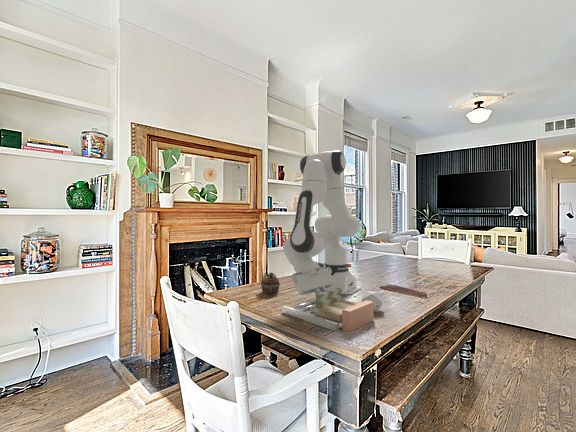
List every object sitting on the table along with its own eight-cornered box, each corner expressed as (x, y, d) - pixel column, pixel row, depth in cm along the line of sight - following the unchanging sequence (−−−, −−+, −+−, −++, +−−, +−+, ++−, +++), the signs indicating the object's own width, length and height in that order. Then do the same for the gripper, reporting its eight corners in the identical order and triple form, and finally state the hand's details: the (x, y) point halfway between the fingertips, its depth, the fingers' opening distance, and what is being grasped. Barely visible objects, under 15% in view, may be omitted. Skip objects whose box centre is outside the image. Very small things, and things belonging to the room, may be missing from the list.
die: (373, 317, 125) (387, 297, 126) (355, 303, 129) (369, 284, 130) (375, 318, 132) (388, 299, 133) (357, 305, 136) (370, 286, 137)
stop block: (366, 318, 122) (366, 300, 122) (373, 320, 120) (373, 301, 119) (342, 329, 110) (342, 309, 110) (349, 331, 108) (349, 311, 108)
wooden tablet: (436, 293, 154) (426, 294, 148) (436, 298, 154) (425, 299, 148) (388, 283, 175) (378, 284, 168) (388, 287, 175) (377, 288, 168)
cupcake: (283, 293, 156) (283, 273, 156) (264, 296, 152) (264, 275, 151) (275, 289, 164) (275, 270, 164) (257, 291, 160) (257, 271, 160)
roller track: (316, 301, 143) (316, 296, 143) (369, 316, 124) (369, 310, 124) (282, 312, 128) (282, 306, 128) (336, 331, 109) (336, 324, 109)
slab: (338, 304, 131) (338, 287, 131) (364, 311, 122) (364, 293, 122) (313, 313, 120) (313, 294, 119) (339, 322, 111) (340, 301, 111)
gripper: (293, 269, 123) (312, 299, 117) (326, 263, 138) (344, 289, 131) (285, 278, 126) (303, 308, 120) (318, 271, 141) (336, 298, 134)
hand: (325, 298), depth 126 cm, fingers closed, pressing on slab
